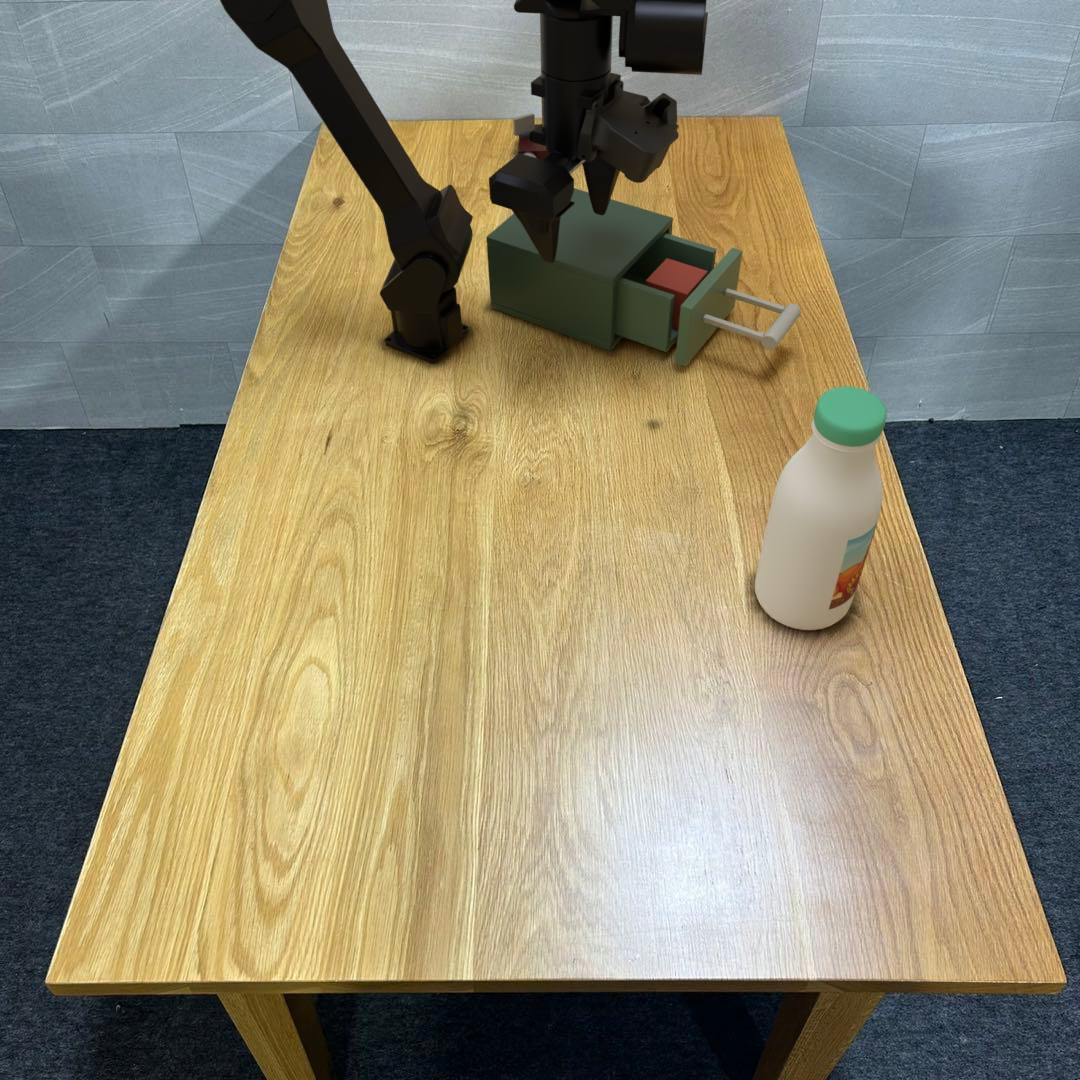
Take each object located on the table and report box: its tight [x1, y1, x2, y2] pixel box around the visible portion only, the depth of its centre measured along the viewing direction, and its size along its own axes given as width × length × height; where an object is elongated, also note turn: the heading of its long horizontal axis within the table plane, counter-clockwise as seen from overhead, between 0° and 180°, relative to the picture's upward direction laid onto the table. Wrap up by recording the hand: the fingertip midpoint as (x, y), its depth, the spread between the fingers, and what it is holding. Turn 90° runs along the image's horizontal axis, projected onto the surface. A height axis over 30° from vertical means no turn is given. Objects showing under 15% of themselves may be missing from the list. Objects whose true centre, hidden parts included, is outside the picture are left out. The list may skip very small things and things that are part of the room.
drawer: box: [614, 233, 802, 367], centre depth 103 cm, size 21×11×7 cm, turn 58°
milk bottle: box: [754, 385, 888, 631], centre depth 76 cm, size 8×8×20 cm
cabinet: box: [485, 187, 674, 352], centre depth 108 cm, size 15×13×9 cm
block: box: [645, 258, 708, 331], centre depth 104 cm, size 5×5×5 cm
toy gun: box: [512, 113, 550, 160], centre depth 129 cm, size 10×12×5 cm
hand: (574, 236), depth 95 cm, fingers open, 9 cm apart
